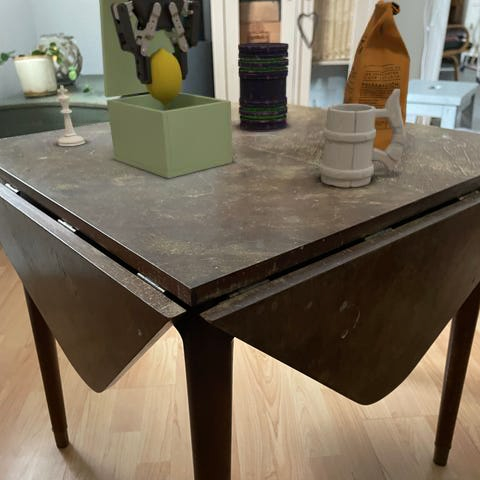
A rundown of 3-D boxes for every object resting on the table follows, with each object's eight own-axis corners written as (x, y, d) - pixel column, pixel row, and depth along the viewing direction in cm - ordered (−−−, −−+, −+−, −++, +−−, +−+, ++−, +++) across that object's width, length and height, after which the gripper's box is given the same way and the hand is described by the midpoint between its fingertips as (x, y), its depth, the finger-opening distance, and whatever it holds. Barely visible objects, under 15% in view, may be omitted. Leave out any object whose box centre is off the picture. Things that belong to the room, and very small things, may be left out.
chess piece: (63, 140, 103) (52, 83, 98) (88, 140, 103) (79, 83, 98) (54, 146, 99) (43, 87, 94) (80, 146, 99) (70, 87, 93)
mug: (313, 173, 80) (317, 87, 74) (390, 170, 81) (401, 84, 75) (324, 189, 74) (330, 95, 68) (408, 185, 75) (422, 92, 69)
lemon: (140, 106, 83) (134, 48, 79) (170, 101, 86) (166, 45, 82) (160, 110, 80) (155, 50, 75) (190, 105, 83) (187, 47, 78)
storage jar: (251, 120, 116) (251, 42, 109) (294, 123, 112) (296, 42, 105) (230, 129, 109) (228, 46, 101) (275, 132, 105) (277, 47, 97)
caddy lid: (174, -25, 82) (156, -30, 84) (100, -25, 75) (82, -31, 77) (172, 88, 92) (156, 80, 95) (107, 97, 85) (91, 88, 88)
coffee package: (393, 143, 96) (411, -1, 85) (403, 161, 85) (425, 0, 74) (337, 142, 97) (347, 0, 86) (340, 160, 87) (352, 1, 75)
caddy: (232, 162, 87) (231, 101, 82) (168, 178, 80) (162, 112, 75) (176, 146, 97) (171, 90, 92) (114, 159, 90) (106, 100, 85)
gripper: (179, -51, 79) (187, 75, 88) (90, -55, 71) (108, 84, 79) (211, -55, 74) (216, 79, 83) (119, -60, 66) (135, 89, 75)
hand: (163, 81), depth 81 cm, fingers closed on lemon, 5 cm apart
